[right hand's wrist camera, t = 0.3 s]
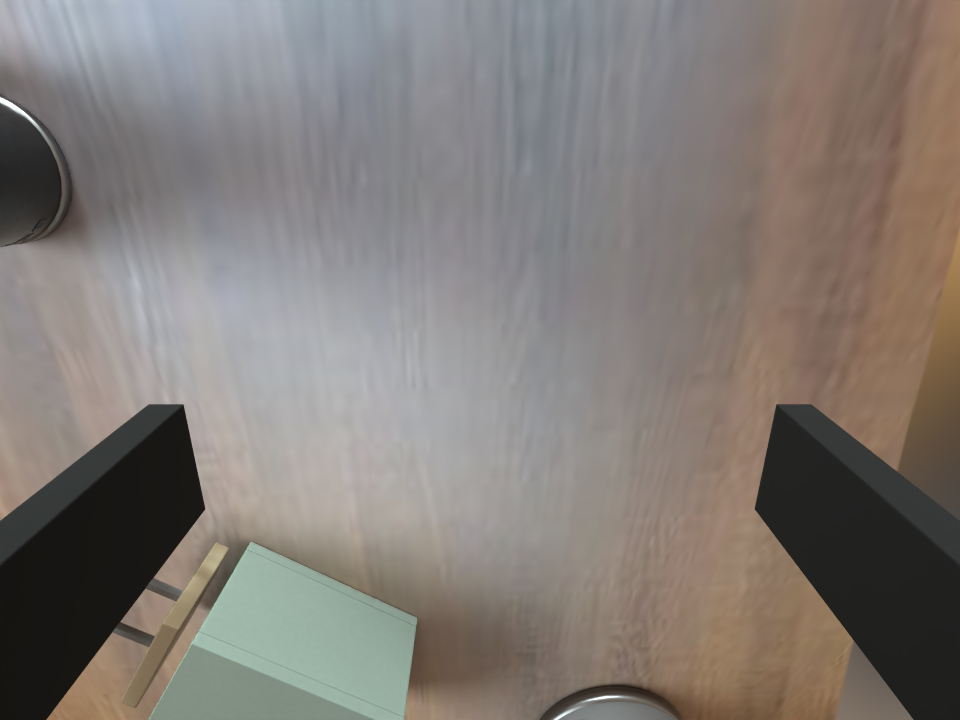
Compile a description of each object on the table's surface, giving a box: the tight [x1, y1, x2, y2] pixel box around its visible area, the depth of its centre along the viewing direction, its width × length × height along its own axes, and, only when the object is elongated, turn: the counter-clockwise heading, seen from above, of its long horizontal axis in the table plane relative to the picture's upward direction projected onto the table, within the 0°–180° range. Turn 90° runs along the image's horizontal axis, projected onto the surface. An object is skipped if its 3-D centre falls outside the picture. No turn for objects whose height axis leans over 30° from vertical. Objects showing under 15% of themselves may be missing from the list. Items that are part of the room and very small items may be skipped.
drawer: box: [113, 543, 229, 708], centre depth 45 cm, size 20×9×8 cm, turn 59°
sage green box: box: [148, 542, 418, 720], centre depth 46 cm, size 16×10×10 cm, turn 59°
